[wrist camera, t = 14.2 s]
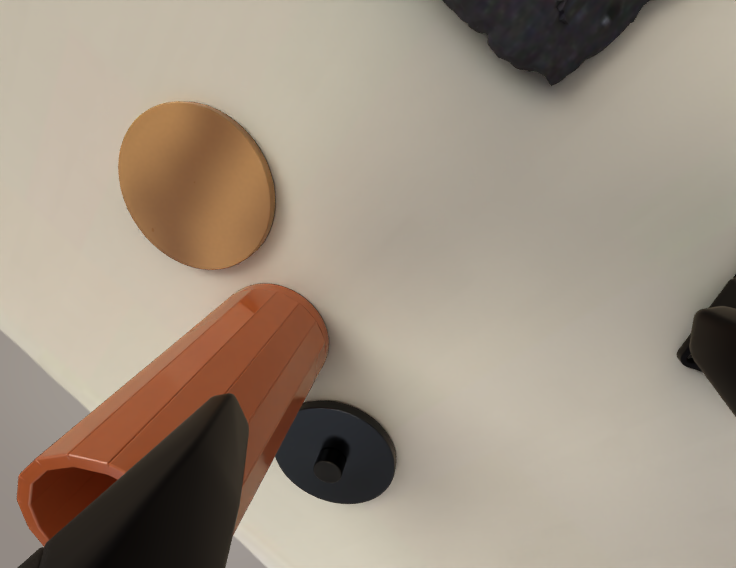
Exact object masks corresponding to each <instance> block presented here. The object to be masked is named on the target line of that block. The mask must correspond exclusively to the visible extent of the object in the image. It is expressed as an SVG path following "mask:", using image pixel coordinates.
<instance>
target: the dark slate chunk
mask: <svg viewBox="0 0 736 568" xmlns="http://www.w3.org/2000/svg"><path fill="white" fill-rule="evenodd" d="M443 1H444V3H445V4H446V5H447V6H448V7H449V8H450V9H451V10H453V11H454V12H455V13H456V14H457V15H458V16H459V17H460V18H461V19H462V20H463V21H464V22H466V23H468V25H469V27H471V28H472V29H474V30H475V31H477V32H479V33H484V34H487V35H488V45H489V46H490V48H491V49H492V50H493V51H494V53H495V54H496V55H497V56H498V57H499V58H502V59H504V60H507V61H509V62H510V63H511V64H512V65H513V66H514V67H515V68H517V69H521V70H527V71H535V72H538V73H540V74H542V75H543V76H545V77H546V79H547V80H548V82H549V84H550V85H551V86H552V85H554V84H556V83H558V82H560V81H561V80H563V79H564V78H565V77H566V76H567V75H569V74H570V73H572V72H573V71H575V70H576V69H577V68H578V67H579V66H580V65H581V64H582V63H583V62H584V61H585V60H586V59H588V58H590V57H592V56H594V55H596V54H598V53H599V52H601V51H602V50H603V49H604V48H606V47H607V46H608V45H609V44H610V43H611V42H612V41H613V40H614V39H615V38H617V37H618V36H619V35H620V34H621V33H622V32H623V31H624V30H625V28H626V27H627V26H628V25H629V24H630V23H632V22H633V21H634V20H635V18H636V17H637V15H638V13H639V11H640V10H641V8H642V7H643V6H644V5H645V4H646V3H647V2H649V1H650V0H443Z"/></svg>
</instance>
